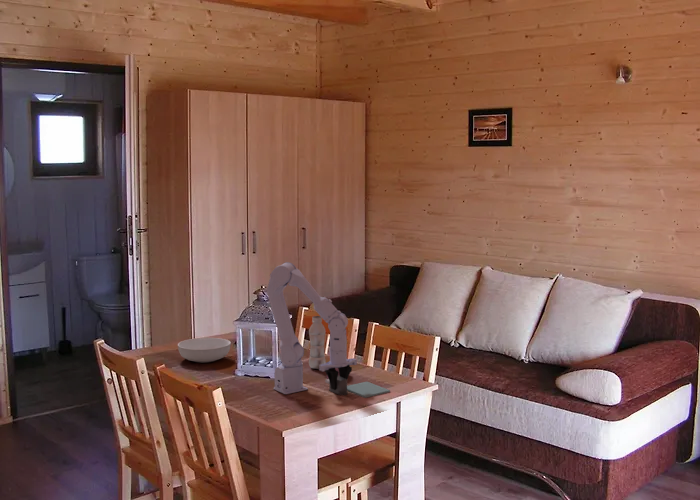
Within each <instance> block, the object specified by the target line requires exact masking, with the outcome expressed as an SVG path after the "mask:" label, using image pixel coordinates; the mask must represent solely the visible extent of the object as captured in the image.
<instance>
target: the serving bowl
mask: <svg viewBox="0 0 700 500" xmlns="http://www.w3.org/2000/svg"><path fill="white" fill-rule="evenodd" d="M231 346H232V342H231V341H230V340H228V339H227V338H226V339H225V338H219V337H199V338H198V337H197V338H196V337H195V338H190V339H185V340H182V341H179V342H178V343H177V349H178V352H179V354H180V356H181V357H182V358H183V359H185V360H188V361H191V362H195V363H200V364H201V363H212V362H215V361H218V360H222V359H223V358H224V357H226V356H227V355H228V353H229V352H230V350H231Z"/></svg>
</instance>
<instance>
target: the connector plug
mask: <svg viewBox="0 0 700 500" xmlns="http://www.w3.org/2000/svg"><path fill="white" fill-rule="evenodd" d="M324 383H325V384H328V385H329V389H328V390H329V391H330V393H333V394H336V395H338V396H347V395H348V391H347V386H348V379H345V378H343V377H340V375H339V376H338V377H337V388H336V390H334V389H331V385H330V381H329V379H327V378H326V379H325V380H324Z"/></svg>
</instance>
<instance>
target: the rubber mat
mask: <svg viewBox="0 0 700 500" xmlns="http://www.w3.org/2000/svg"><path fill="white" fill-rule="evenodd" d="M347 392H350V393H352V394H354V395H357V396H360V397H362V398H370V397H374V396H379V395H383V394H386V393H387V394H388V393H391V390H390V389H387V388H385V387H382V386H380V385H377V384H374V383H372V382H370V381H363V382H359V383H354V384H349V385H348V384H347Z"/></svg>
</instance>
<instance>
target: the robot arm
mask: <svg viewBox="0 0 700 500" xmlns="http://www.w3.org/2000/svg"><path fill="white" fill-rule="evenodd" d="M287 286H291V287H296V288H298V289H299V290H300V292H302V293H303V294H304V295H305V296H306V298H308V299H309V300H310V301H311V302H312V303H313V310H314V311H315V312H316V313H317V315H318V316H321V317H322V321H324V322H325V323H326V324H327V326H328V327H327V328H328V330H329V332H330V334H329V361H328V362H326V363H324V364H321V365H319V369H318V370H319V371H320V372H325V374H326V376H328V378H329V381H330V385H331V389H334V390H336V388H337V377H338V373H339V376H340V377H343V378H345V379H347V380H348V379H349V376H350V375H351V372H352V371H353V368H352V367H351V366H356V365H358V359H357V358H354V357H353V358H347V357H348V356H347V355H348V353H347V350H348V349H347V344H348V342H347V339H348V337H347V327H348V324H349V320H348V317H347V316H346V314H345V313H343V312H341V310H338V309H337V307H335V305H334V304H333V303H332V302H333V301H332V299H331V298H329V299H328V298H327V297H324V296H321V295H320V294H319V292H318V291H317V290H316V289H315V288H314V287H313V285H312V284H311V283H310V282H309V280H308V279H307V278H306V276H304V274H303V273H302V271H301V270H300V268H297V267H296V265H295V264H294V263H292V262H289V261H286V262H284V263H282V264H280V265H277V266H275V268H273V270H272V271H271V273H270V274H269V281H268V284H267V288H266V293H267V297H268V300H269V304H270V307H271V311H272V314H273V318H274V321H275V322H274V323H275V325H276V329H277V331H278V335H279V340H280V343H279V348H280V349H279V350H280V355H279V359H280V362H281V365H280V366H278V367H277V366H276V368H275V369H274V387H273V390H275V391H277V392H279V393H281V394H283V395H289V394H292V393H294V394H295V393H298V392H302V391H304V392H305V391H308V390H309V388H308V387H306V386H304V378H303V377H304V374H303V373H304V372H303V371H304V369H303V366H304V365H303V361H302V358H303V357H304V354H305V348H304V347H303V345H302V344H301V343H300V341H299V338H298V337H297V336H296V334H295V331H294V327H293V324H292V320H291V316H290V313H289V310H288V305H287V303H286V302H287V301H286V298H285V296H284V290H285V289H286V287H287ZM335 368H338V369H339V372H338V371H336V369H335Z"/></svg>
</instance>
